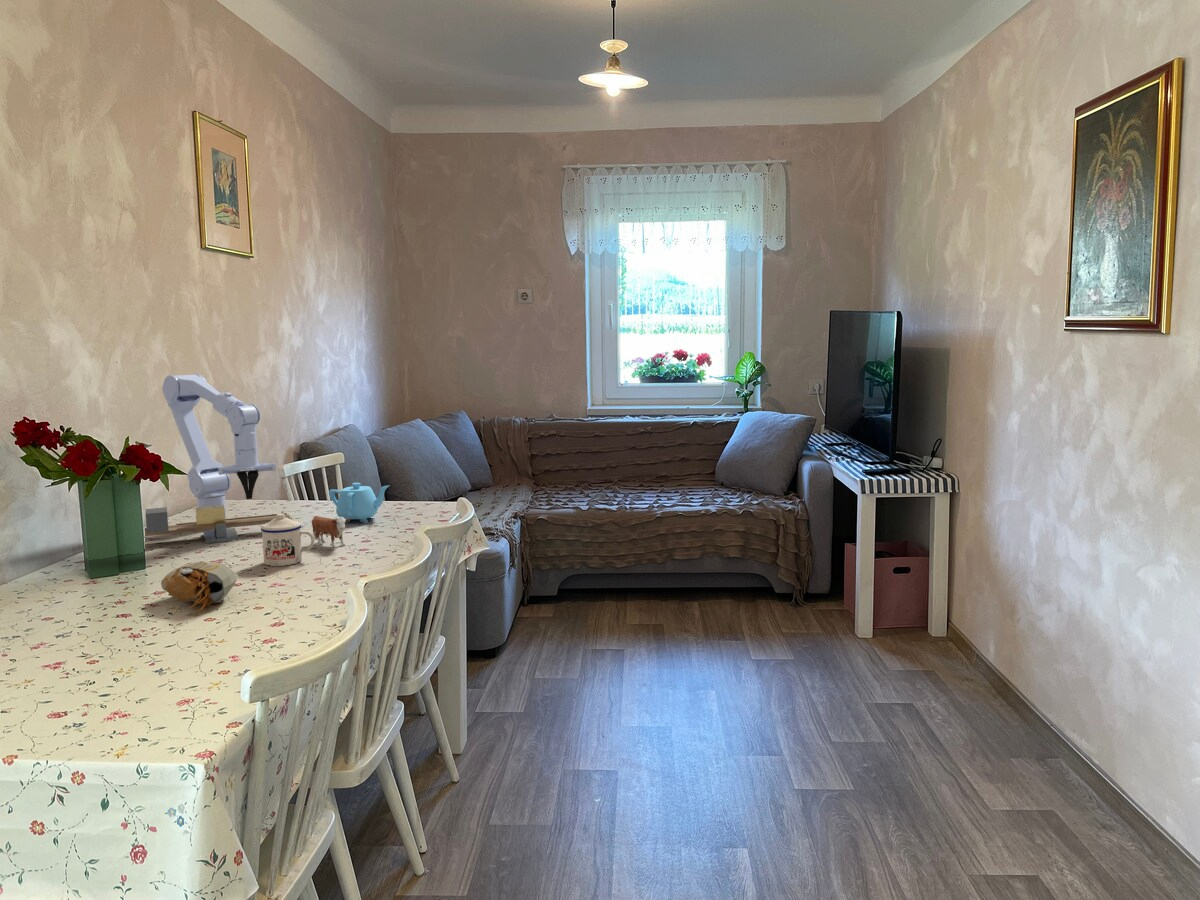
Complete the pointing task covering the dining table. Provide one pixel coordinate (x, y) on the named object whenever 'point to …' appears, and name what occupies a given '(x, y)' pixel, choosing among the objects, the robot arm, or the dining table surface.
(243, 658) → the dining table surface
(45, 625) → the dining table surface
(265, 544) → the teacup with lid
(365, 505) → the teapot
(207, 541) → the pivot stand
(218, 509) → the block
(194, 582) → the nautilus
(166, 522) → the beam
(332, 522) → the bull figurine
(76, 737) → the dining table surface
